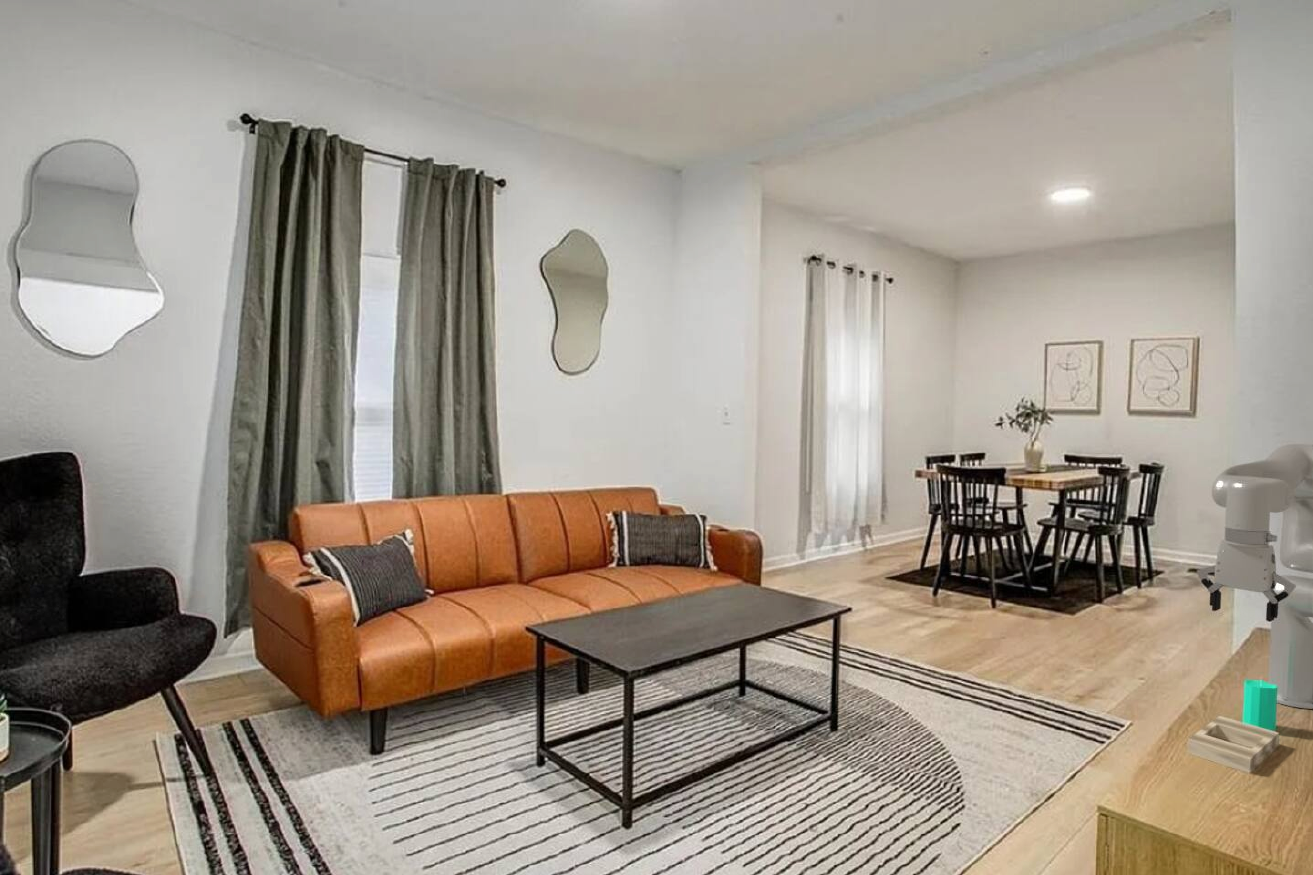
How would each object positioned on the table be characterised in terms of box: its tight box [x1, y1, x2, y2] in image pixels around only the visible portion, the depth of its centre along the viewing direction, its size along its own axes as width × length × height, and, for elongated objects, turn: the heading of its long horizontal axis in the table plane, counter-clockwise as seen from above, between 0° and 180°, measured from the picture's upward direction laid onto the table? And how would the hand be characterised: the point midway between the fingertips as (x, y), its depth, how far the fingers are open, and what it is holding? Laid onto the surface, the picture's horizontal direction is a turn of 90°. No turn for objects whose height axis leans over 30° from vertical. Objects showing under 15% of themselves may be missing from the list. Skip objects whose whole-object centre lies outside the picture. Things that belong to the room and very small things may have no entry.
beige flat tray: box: [1186, 715, 1280, 774], centre depth 165 cm, size 20×11×3 cm, turn 127°
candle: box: [1242, 676, 1278, 732], centre depth 176 cm, size 6×6×12 cm
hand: (1242, 614), depth 165 cm, fingers open, 9 cm apart
